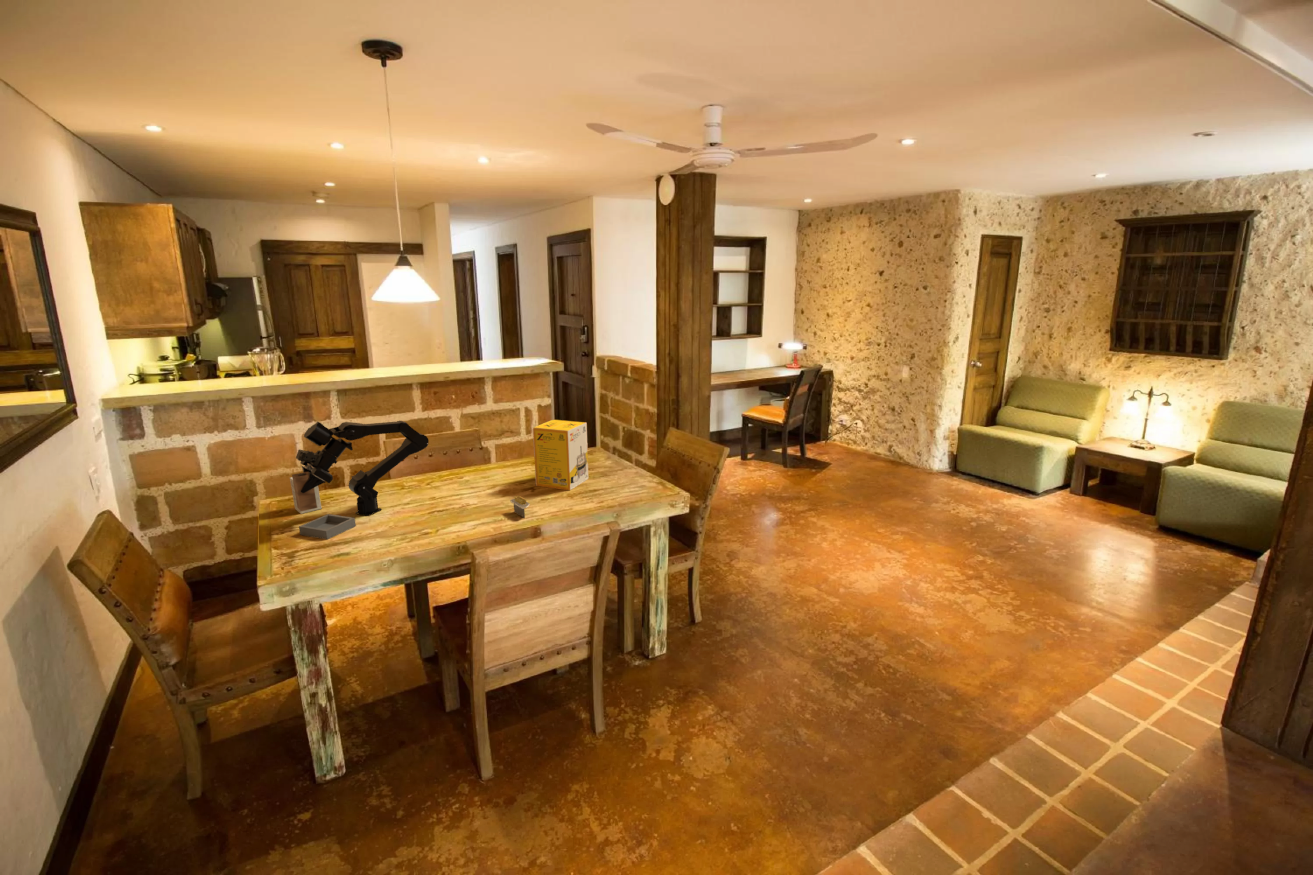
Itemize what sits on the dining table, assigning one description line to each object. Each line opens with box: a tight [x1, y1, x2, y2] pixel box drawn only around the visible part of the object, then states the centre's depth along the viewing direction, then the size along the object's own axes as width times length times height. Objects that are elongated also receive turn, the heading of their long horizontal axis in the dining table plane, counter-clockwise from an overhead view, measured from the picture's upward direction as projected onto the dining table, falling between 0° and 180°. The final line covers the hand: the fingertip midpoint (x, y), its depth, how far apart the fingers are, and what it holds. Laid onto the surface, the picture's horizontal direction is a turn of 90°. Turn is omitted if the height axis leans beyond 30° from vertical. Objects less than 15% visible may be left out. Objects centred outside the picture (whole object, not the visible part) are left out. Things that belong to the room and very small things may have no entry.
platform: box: [509, 495, 531, 519], centre depth 220 cm, size 12×18×7 cm, turn 40°
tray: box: [298, 513, 357, 540], centre depth 206 cm, size 12×12×3 cm
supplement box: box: [289, 476, 322, 515], centre depth 225 cm, size 7×7×13 cm
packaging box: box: [532, 419, 589, 491], centre depth 253 cm, size 16×16×25 cm
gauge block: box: [291, 471, 317, 511], centre depth 207 cm, size 5×5×12 cm
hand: (299, 490), depth 206 cm, fingers closed on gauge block, 5 cm apart
